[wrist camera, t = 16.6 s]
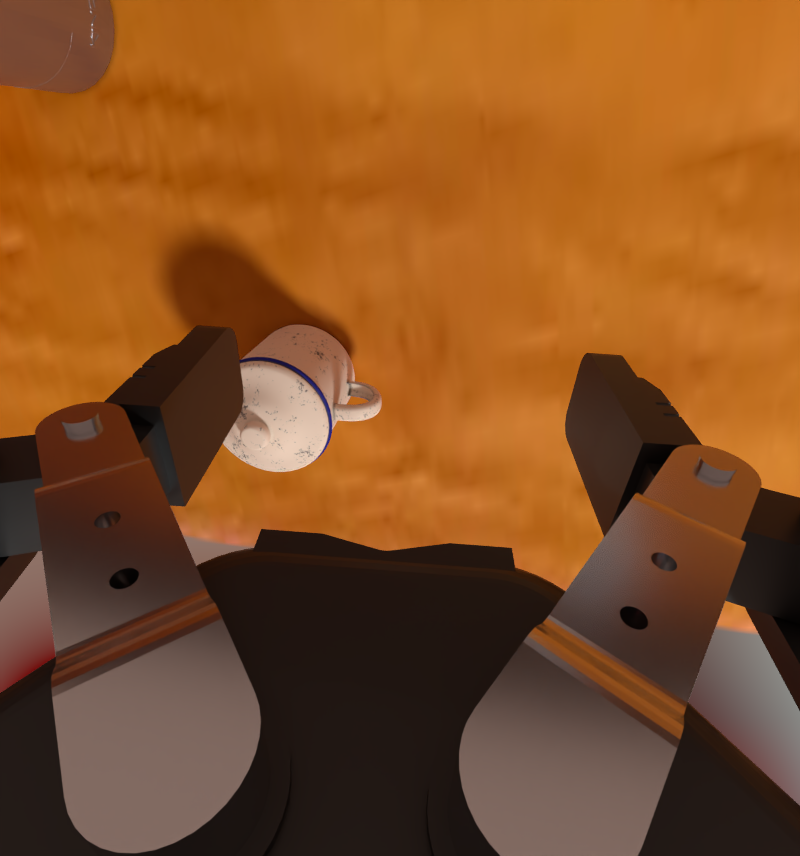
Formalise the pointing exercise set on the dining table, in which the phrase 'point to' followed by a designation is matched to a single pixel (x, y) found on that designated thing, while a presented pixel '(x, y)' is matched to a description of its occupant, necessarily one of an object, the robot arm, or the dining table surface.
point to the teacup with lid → (295, 398)
